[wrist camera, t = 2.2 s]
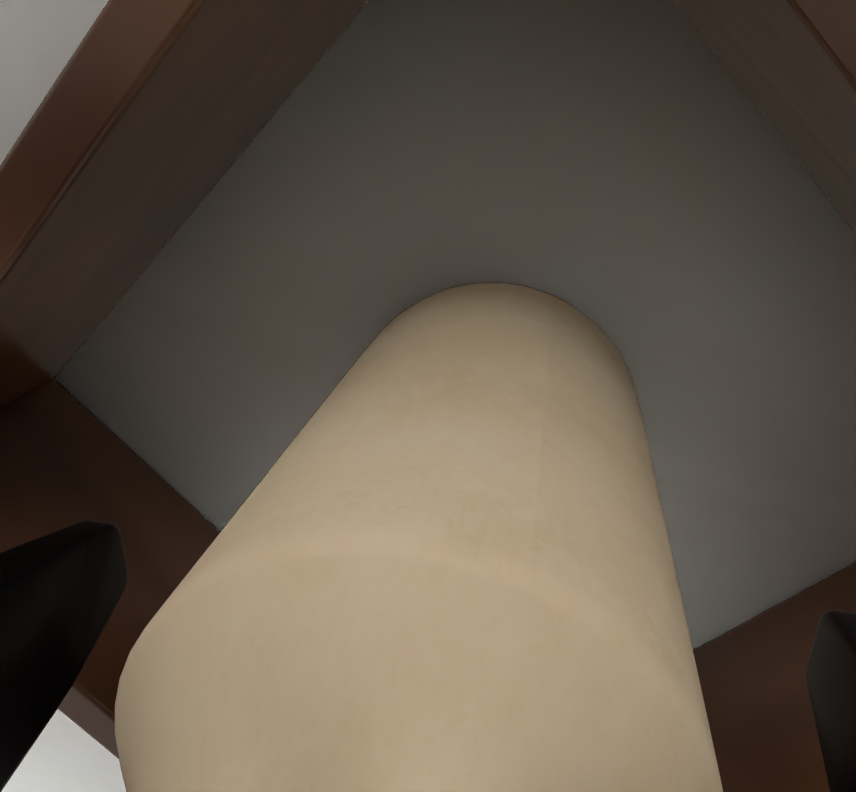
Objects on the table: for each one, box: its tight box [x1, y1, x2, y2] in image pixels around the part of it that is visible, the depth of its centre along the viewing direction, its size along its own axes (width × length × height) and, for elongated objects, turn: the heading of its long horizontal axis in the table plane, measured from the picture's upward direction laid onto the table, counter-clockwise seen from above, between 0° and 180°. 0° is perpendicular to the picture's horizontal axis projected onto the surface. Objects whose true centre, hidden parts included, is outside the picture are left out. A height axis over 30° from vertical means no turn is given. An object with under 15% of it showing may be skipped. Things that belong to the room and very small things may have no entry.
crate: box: [0, 0, 856, 792], centre depth 12 cm, size 15×15×5 cm
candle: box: [115, 283, 723, 792], centre depth 10 cm, size 6×6×10 cm
